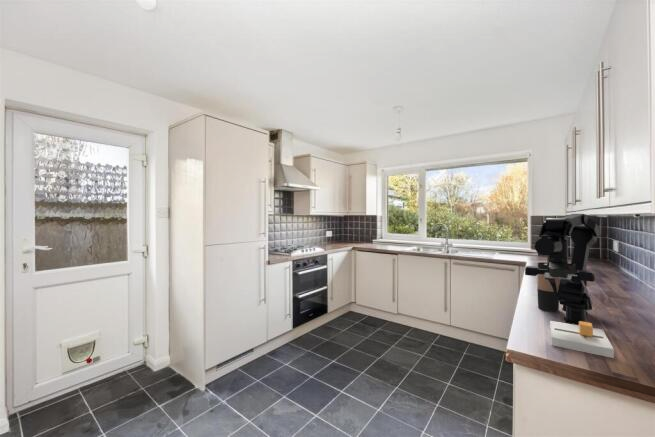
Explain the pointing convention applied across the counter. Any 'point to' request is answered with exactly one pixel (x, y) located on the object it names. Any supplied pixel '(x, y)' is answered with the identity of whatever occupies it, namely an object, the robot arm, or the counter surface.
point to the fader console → (580, 339)
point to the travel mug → (546, 292)
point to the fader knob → (585, 329)
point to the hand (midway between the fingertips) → (557, 297)
